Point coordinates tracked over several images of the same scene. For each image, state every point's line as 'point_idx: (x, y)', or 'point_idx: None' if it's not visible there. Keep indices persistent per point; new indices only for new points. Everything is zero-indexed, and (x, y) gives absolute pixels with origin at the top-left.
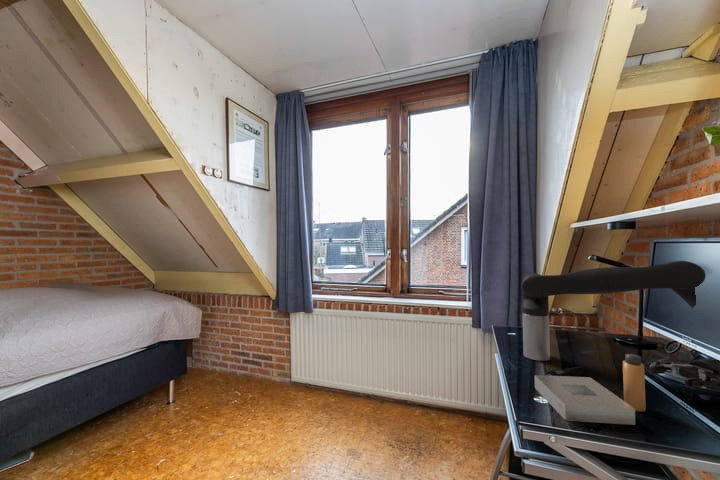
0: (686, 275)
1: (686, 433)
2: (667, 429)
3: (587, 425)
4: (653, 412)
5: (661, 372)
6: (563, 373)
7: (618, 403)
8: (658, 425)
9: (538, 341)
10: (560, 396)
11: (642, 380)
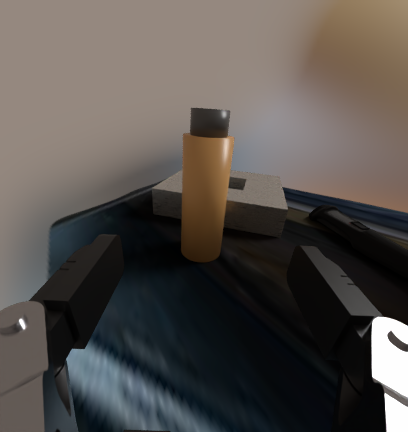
0: None
1: None
2: (121, 233)
3: None
4: (171, 261)
5: (315, 327)
6: (337, 220)
7: (173, 185)
8: (136, 233)
9: None
10: None
11: (182, 177)
